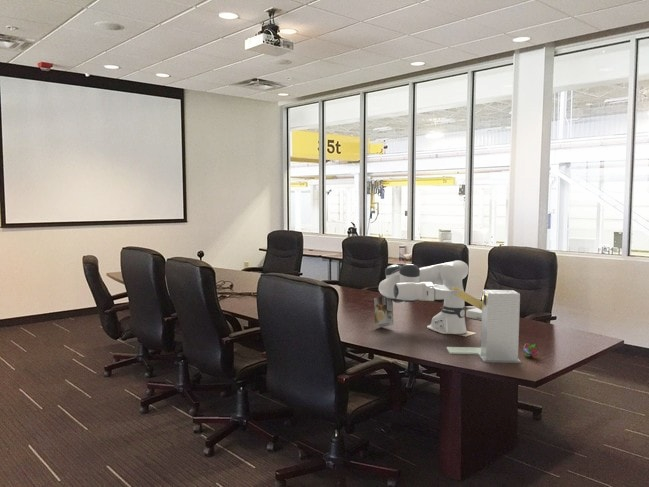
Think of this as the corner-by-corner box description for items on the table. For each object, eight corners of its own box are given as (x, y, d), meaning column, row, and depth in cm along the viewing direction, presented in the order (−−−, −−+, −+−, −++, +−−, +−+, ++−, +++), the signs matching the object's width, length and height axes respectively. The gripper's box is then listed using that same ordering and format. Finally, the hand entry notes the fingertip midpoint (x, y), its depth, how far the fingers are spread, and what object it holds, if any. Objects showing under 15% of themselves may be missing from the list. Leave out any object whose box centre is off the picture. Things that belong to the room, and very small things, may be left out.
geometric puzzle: (545, 354, 239) (536, 338, 243) (535, 356, 235) (526, 340, 239) (534, 360, 244) (526, 344, 248) (524, 362, 241) (516, 346, 244)
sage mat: (449, 353, 247) (449, 352, 247) (446, 348, 256) (446, 346, 256) (497, 354, 246) (497, 353, 246) (492, 349, 255) (492, 347, 254)
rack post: (484, 362, 234) (485, 293, 232) (478, 355, 245) (480, 289, 243) (520, 362, 233) (522, 294, 231) (513, 355, 244) (515, 290, 242)
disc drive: (510, 317, 328) (511, 309, 328) (490, 322, 314) (491, 314, 313) (486, 312, 342) (486, 305, 341) (465, 317, 327) (466, 309, 327)
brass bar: (450, 292, 246) (454, 286, 246) (449, 291, 250) (453, 285, 249) (486, 313, 246) (490, 306, 245) (484, 311, 249) (488, 305, 249)
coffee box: (394, 324, 294) (393, 297, 300) (387, 322, 290) (386, 294, 296) (381, 327, 300) (380, 300, 306) (374, 325, 295) (373, 297, 301)
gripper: (425, 294, 259) (453, 294, 258) (431, 301, 239) (461, 301, 238) (425, 281, 259) (454, 281, 258) (431, 287, 238) (462, 288, 237)
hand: (457, 291), depth 248 cm, fingers closed on brass bar, 3 cm apart
